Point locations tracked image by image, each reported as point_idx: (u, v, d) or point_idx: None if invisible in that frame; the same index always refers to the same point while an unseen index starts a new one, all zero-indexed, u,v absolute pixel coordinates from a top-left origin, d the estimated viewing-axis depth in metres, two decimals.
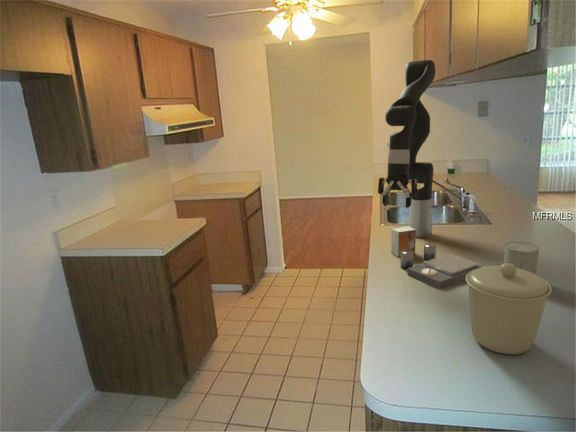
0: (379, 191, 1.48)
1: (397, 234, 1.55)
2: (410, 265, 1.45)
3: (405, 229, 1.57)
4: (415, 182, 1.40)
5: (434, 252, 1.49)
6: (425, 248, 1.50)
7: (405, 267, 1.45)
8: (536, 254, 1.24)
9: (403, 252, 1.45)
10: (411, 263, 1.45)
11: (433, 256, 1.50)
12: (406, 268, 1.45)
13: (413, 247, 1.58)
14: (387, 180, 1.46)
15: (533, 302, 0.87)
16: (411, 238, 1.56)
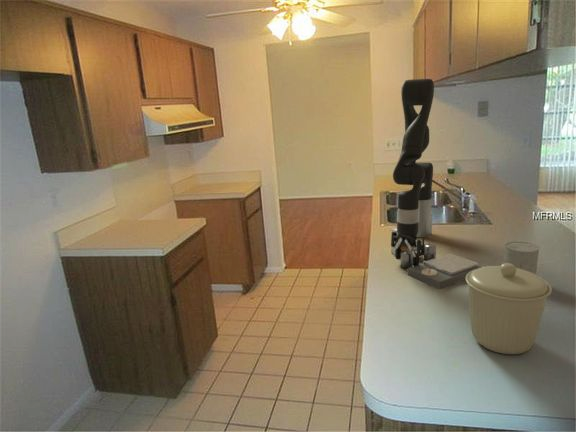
0: (392, 244, 1.50)
1: None
2: (410, 265, 1.45)
3: None
4: (421, 243, 1.38)
5: (434, 252, 1.49)
6: (425, 248, 1.50)
7: (405, 267, 1.45)
8: (536, 254, 1.24)
9: (403, 252, 1.45)
10: (411, 263, 1.45)
11: (433, 256, 1.50)
12: (406, 268, 1.45)
13: (413, 247, 1.58)
14: (398, 236, 1.46)
15: (533, 302, 0.87)
16: None
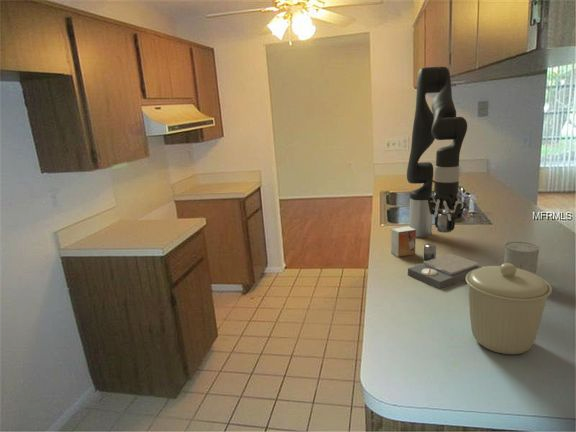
0: (431, 211, 1.37)
1: (397, 234, 1.55)
2: None
3: (405, 229, 1.57)
4: (461, 207, 1.27)
5: (434, 252, 1.49)
6: (425, 248, 1.50)
7: (443, 230, 1.33)
8: (536, 254, 1.24)
9: (441, 214, 1.33)
10: None
11: (433, 256, 1.50)
12: (444, 231, 1.33)
13: (413, 247, 1.58)
14: (435, 198, 1.34)
15: (533, 302, 0.87)
16: (411, 238, 1.56)
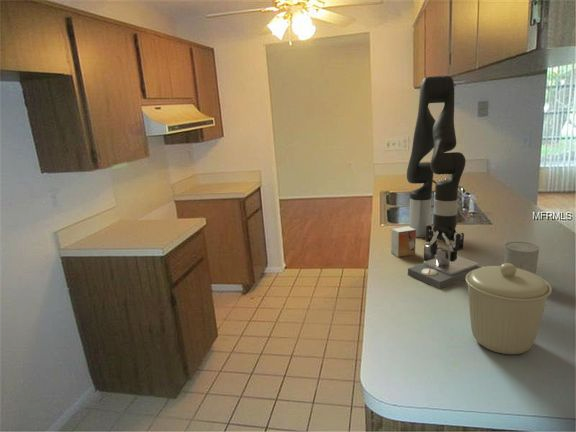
0: (427, 239, 1.41)
1: (397, 234, 1.55)
2: (447, 263, 1.36)
3: (405, 229, 1.57)
4: (460, 237, 1.29)
5: None
6: (425, 248, 1.50)
7: (441, 265, 1.36)
8: (536, 254, 1.24)
9: (439, 249, 1.36)
10: (448, 260, 1.36)
11: (433, 256, 1.50)
12: (442, 266, 1.36)
13: (413, 247, 1.58)
14: (434, 229, 1.37)
15: (533, 302, 0.87)
16: (411, 238, 1.56)
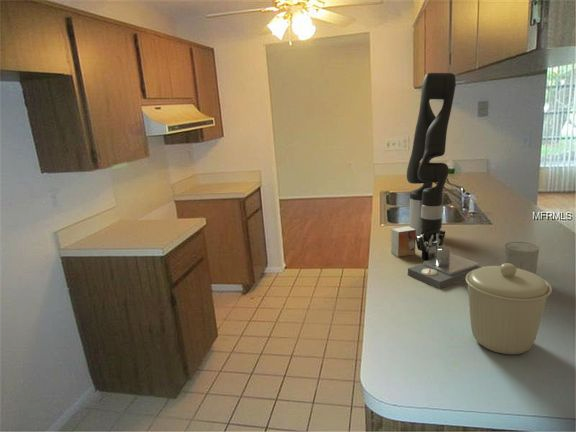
0: None
1: (397, 234, 1.55)
2: (447, 263, 1.36)
3: (405, 229, 1.57)
4: (417, 239, 1.47)
5: (434, 252, 1.49)
6: None
7: (441, 265, 1.36)
8: (536, 254, 1.24)
9: (439, 249, 1.36)
10: (448, 261, 1.36)
11: (433, 256, 1.50)
12: (442, 266, 1.36)
13: (413, 247, 1.58)
14: None
15: (533, 302, 0.87)
16: (411, 238, 1.56)
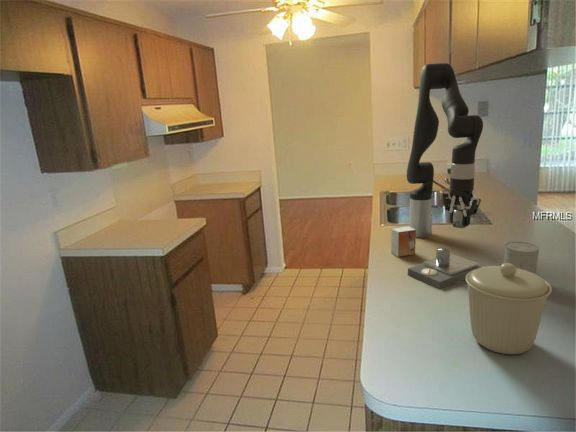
0: (446, 208, 1.40)
1: (397, 234, 1.55)
2: (447, 263, 1.36)
3: (405, 229, 1.57)
4: (476, 203, 1.30)
5: None
6: None
7: (441, 265, 1.36)
8: (536, 254, 1.24)
9: (439, 249, 1.36)
10: (448, 260, 1.36)
11: None
12: (442, 266, 1.36)
13: (413, 247, 1.58)
14: (450, 194, 1.38)
15: (533, 302, 0.87)
16: (411, 238, 1.56)
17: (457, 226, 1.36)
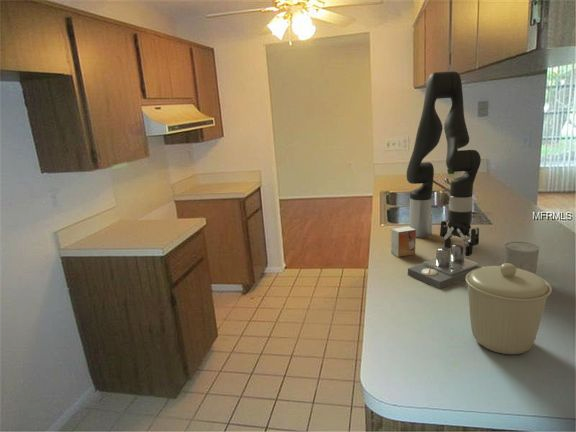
0: (441, 234, 1.44)
1: (397, 234, 1.55)
2: (447, 263, 1.36)
3: (405, 229, 1.57)
4: (475, 232, 1.32)
5: None
6: (462, 248, 1.38)
7: (441, 265, 1.36)
8: (536, 254, 1.24)
9: (439, 249, 1.36)
10: (448, 261, 1.36)
11: None
12: (442, 266, 1.36)
13: (413, 247, 1.58)
14: (448, 225, 1.41)
15: (533, 302, 0.87)
16: (411, 238, 1.56)
17: (455, 261, 1.40)
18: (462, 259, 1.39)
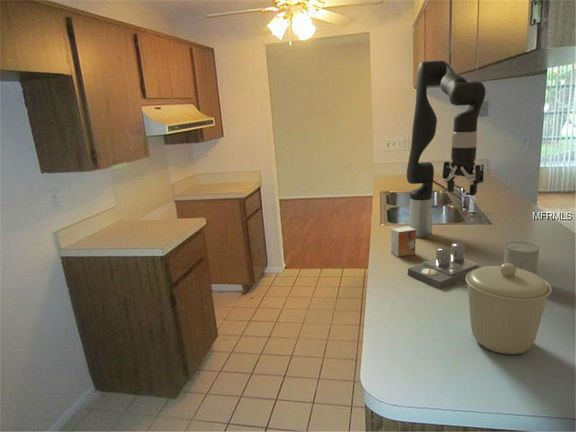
0: (444, 176, 1.38)
1: (397, 234, 1.55)
2: (447, 263, 1.36)
3: (405, 229, 1.57)
4: (480, 168, 1.26)
5: None
6: (462, 248, 1.38)
7: (441, 265, 1.36)
8: (536, 254, 1.24)
9: (439, 249, 1.36)
10: (448, 261, 1.36)
11: None
12: (442, 266, 1.36)
13: (413, 247, 1.58)
14: (451, 165, 1.35)
15: (533, 302, 0.87)
16: (411, 238, 1.56)
17: (455, 260, 1.40)
18: (462, 259, 1.39)
